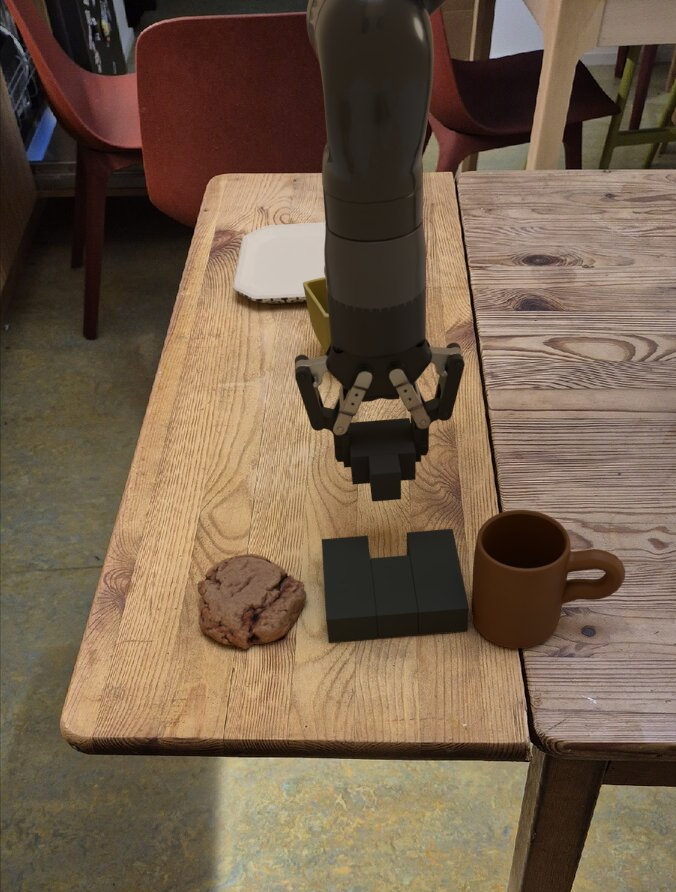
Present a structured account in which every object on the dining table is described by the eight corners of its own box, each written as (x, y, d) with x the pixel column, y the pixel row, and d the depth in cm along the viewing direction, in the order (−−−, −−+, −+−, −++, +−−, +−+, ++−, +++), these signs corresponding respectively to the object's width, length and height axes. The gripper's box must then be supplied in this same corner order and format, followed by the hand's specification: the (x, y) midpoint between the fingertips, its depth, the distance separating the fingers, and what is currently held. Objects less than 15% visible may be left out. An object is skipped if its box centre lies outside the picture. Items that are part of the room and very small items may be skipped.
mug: (615, 603, 81) (633, 522, 74) (607, 669, 76) (626, 589, 69) (479, 581, 84) (484, 501, 77) (462, 643, 79) (466, 564, 72)
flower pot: (376, 334, 114) (373, 265, 107) (402, 370, 108) (401, 299, 101) (308, 351, 112) (301, 281, 106) (331, 388, 106) (325, 317, 100)
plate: (389, 232, 132) (388, 217, 131) (392, 306, 118) (391, 290, 117) (246, 240, 134) (244, 225, 132) (232, 314, 119) (229, 298, 118)
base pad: (452, 552, 86) (452, 528, 84) (467, 631, 80) (469, 608, 77) (324, 562, 87) (321, 538, 84) (328, 643, 80) (326, 619, 78)
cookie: (262, 551, 88) (258, 528, 86) (327, 614, 82) (325, 590, 80) (171, 600, 84) (165, 577, 82) (233, 670, 78) (227, 647, 76)
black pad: (409, 445, 84) (409, 417, 82) (418, 498, 79) (419, 470, 76) (349, 449, 84) (347, 422, 82) (354, 503, 79) (352, 475, 76)
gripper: (280, 312, 67) (301, 493, 79) (479, 296, 67) (469, 479, 79) (280, 263, 72) (299, 440, 84) (464, 248, 72) (457, 427, 84)
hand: (381, 458), depth 82 cm, fingers closed on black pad, 5 cm apart
